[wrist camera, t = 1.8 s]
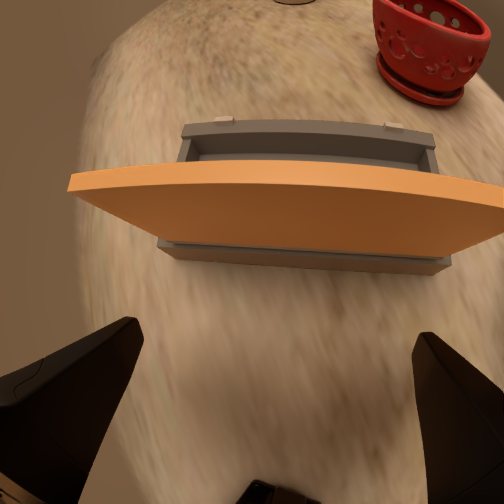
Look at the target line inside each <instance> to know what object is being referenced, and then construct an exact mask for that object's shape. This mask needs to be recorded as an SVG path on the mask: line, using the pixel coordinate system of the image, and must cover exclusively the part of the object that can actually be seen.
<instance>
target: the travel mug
mask: <svg viewBox="0 0 504 504" xmlns="http://www.w3.org/2000/svg"><path fill="white" fill-rule="evenodd" d="M275 1H277V2H281V3H285V4H303V3H308V2H311V1H313V0H275Z"/></svg>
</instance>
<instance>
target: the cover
mask: <svg viewBox="0 0 504 504" xmlns="http://www.w3.org/2000/svg"><path fill="white" fill-rule="evenodd" d="M67 192H69V193H71V194H73V195H75V196H77V197H79V198H81V199H83V200H85V201H87V202H89V203H90V204H92V205H94V206H96V207H98V208H100V209H102V210H104V211H106V212H108V213H110V214H112V215H114V216H116V217H118V218H120V219H122V220H124V221H126V222H128V223H130V224H133V225H135V226H137V227H139V228H141V229H143V230H145V231H147V232H149V233H151V234H153V235H155V236H157V237H159V238H161V239H163V240H165V241H166V242H167V243H179V244H197V245H214V246H231V247H248V248H265V249H282V250H298V251H315V252H331V253H347V254H363V255H378V256H394V257H409V258H424V259H439V260H442V259H443V258H444V257H446V256H449V255H451V254H454V253H456V252H459V251H461V250H464V249H466V248H468V247H471V246H473V245H476V244H478V243H480V242H483V241H485V240H487V239H490V238H492V237H494V236H497V235H499V234H501V233H503V232H504V187H499V186H495V185H491V184H486V183H482V182H477V181H472V180H467V179H462V178H457V177H451V176H445V175H439V174H433V173H427V172H420V171H413V170H405V169H397V168H389V167H380V166H370V165H359V164H347V163H333V162H315V161H289V160H221V161H195V162H177V163H163V164H150V165H140V166H130V167H121V168H112V169H104V170H97V171H89V172H83V173H76V174H72V176H71V180H70V183H69V187H68V191H67Z"/></svg>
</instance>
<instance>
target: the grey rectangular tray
mask: <svg viewBox="0 0 504 504" xmlns="http://www.w3.org/2000/svg"><path fill="white" fill-rule="evenodd" d="M181 137H182V139H183V141H182V145H181V148H180V152H179V155H178V159H177V162H195V161H221V160H289V161H315V162H333V163H347V164H359V165H370V166H380V167H389V168H397V169H405V170H413V171H420V172H427V173H433V174H439V170H438V165H437V161H436V157H435V153H434V149H435V147H436V146H435V142H434V138H433V135H432V134H430V133H424V132H419V131H413V130H407V129H404V126H403V124H399V123H392V122H385V123H384V126H378V125H369V124H360V123H349V122H335V121H318V120H238V121H235V120H234V117H233V116H226V117H215V118H214V122H206V123H195V124H185V125H184V128H183V131H182V135H181ZM177 162H176V163H177ZM439 175H440V174H439ZM157 247H158V248H159V249H161V250H162V251H164V252H165V253H167V254H169V255H170V256H172V257H173V258H175V259H184V260H197V261H210V262H223V263H237V264H251V265H265V266H280V267H295V268H310V269H326V270H343V271H360V272H377V273H395V274H415V275H434V274H436V273H438V272H440V271H442V270H443V269H445V268H447V267H449V266H451V265H452V264H451V255H449V256H446V257H444V258H443V259H442V260H439V259H424V258H409V257H394V256H378V255H363V254H347V253H331V252H315V251H298V250H282V249H265V248H248V247H231V246H214V245H197V244H179V243H167V242H166V241H165V240H163V239H161V238H159V237H158V242H157Z"/></svg>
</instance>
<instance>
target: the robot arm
mask: <svg viewBox="0 0 504 504" xmlns="http://www.w3.org/2000/svg"><path fill="white" fill-rule="evenodd" d="M143 342H144V336H143V333H142V330H141V327H140V324H139V321H138V320H137V318H135V317H128V316H126V317H123V318H121V319H119V320H117V321H115V322H113V323H111V324H109V325H107V326H105V327H104V328H102V329H100V330H98V331H96V332H94V333H92V334H90V335H88V336H86V337H84V338H82V339H80V340H78V341H76V342H74V343H72V344H70V345H68V346H66V347H64V348H62V349H60V350H58V351H56V352H54V353H52V354H50V355H48V356H46V357H45V358H42V359H40V360H38V361H36V362H34V363H32V364H30V365H28V366H26V367H24V368H21V369H19V370H16V371H14V372H12V373H9V374H7V375H4V376H2V377H0V504H78V501H79V499H80V496H81V493H82V490H83V488H84V485H85V483H86V480H87V478H88V475H89V472H90V470H91V467H92V465H93V462H94V460H95V458H96V455H97V453H98V450H99V448H100V446H101V443H102V441H103V438H104V436H105V434H106V432H107V429H108V427H109V425H110V422H111V420H112V418H113V416H114V414H115V411H116V409H117V407H118V405H119V403H120V400H121V398H122V396H123V394H124V392H125V390H126V387H127V385H128V383H129V381H130V379H131V376H132V373H133V371H134V368H135V365H136V362H137V359H138V356H139V354H140V351H141V348H142V345H143ZM412 366H413V375H414V386H415V397H416V404H417V410H418V416H419V421H420V428H421V434H422V441H423V449H424V457H425V467H426V478H427V493H428V504H504V394H503V391H502V390H501V389H500V388H499V387H497V386H496V385H495V384H494V383H493V382H492V381H491V380H489V379H488V378H487V377H486V376H485V375H484V374H482V373H481V372H480V371H479V370H478V369H477V368H475V367H474V366H473V365H472V364H471V363H470V362H468V361H467V360H466V359H465V358H464V357H462V356H461V355H460V354H459V353H458V352H456V351H455V350H454V349H453V348H452V347H450V346H449V345H448V344H447V343H445V342H444V341H443V340H442V339H440V338H439V337H438V336H437V335H435V334H434V333H433V332H421V333H420V334H419V336H418V338H417V341H416V343H415V346H414V349H413V352H412ZM255 484H256V485H258V486H259V487H255V486H254V485H255ZM236 504H321V503H319V502H316V501H313V500H310V499H307V498H305V497H304V496H301V495H298V494H295V493H293V492H290V491H287V490H284V489H282V488H276V487H273V486H271V485H268V484H266V483H263V482H261V481H258V480H254V481H252V482H251V483H250V485H249V486H248V487H247V489H246V490H245V492H244V493H243V494H242V496H241V497H240V498H239V500H238V501H237V502H236Z"/></svg>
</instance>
